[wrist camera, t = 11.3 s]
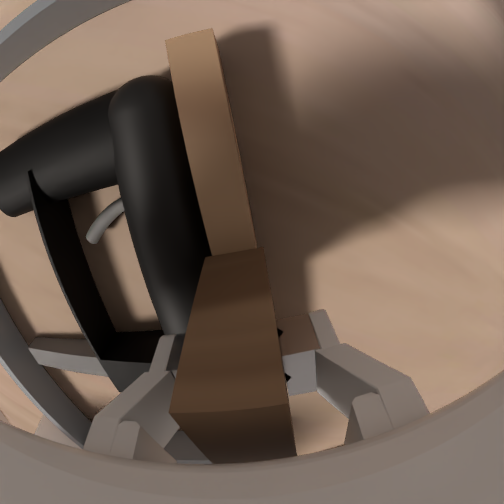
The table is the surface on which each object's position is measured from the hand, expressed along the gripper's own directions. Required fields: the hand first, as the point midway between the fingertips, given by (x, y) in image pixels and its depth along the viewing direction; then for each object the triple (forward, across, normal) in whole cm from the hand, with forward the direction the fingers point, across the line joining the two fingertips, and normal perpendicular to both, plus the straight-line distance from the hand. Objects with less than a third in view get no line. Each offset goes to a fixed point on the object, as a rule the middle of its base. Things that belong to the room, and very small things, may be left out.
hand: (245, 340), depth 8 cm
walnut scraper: (+5, 0, -1) cm, 5 cm away
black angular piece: (+5, +8, +1) cm, 10 cm away
